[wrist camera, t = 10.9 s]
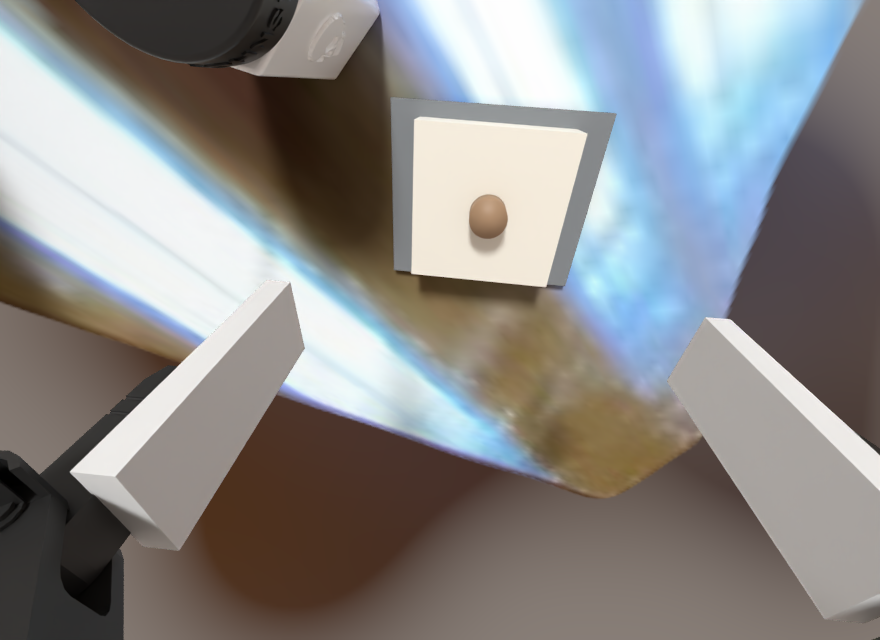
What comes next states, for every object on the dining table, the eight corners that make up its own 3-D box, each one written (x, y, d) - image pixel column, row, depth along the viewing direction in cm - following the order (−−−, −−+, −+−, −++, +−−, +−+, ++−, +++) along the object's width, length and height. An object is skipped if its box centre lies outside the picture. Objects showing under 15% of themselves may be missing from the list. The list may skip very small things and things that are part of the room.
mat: (395, 266, 29) (394, 269, 28) (392, 97, 22) (390, 97, 22) (563, 282, 28) (564, 286, 28) (613, 113, 22) (616, 113, 21)
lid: (416, 259, 28) (407, 283, 24) (420, 116, 22) (409, 121, 19) (540, 271, 27) (549, 297, 24) (577, 129, 22) (594, 136, 18)
